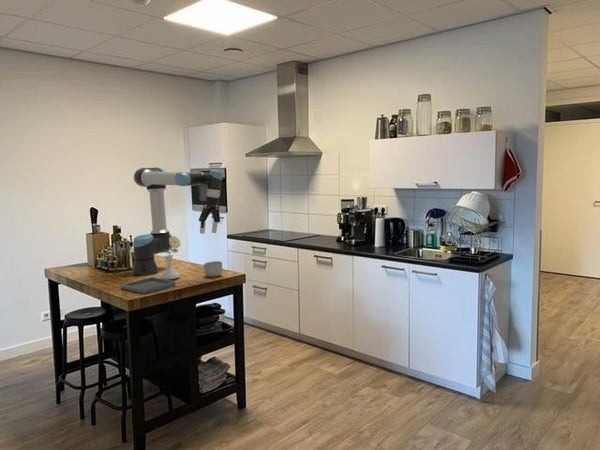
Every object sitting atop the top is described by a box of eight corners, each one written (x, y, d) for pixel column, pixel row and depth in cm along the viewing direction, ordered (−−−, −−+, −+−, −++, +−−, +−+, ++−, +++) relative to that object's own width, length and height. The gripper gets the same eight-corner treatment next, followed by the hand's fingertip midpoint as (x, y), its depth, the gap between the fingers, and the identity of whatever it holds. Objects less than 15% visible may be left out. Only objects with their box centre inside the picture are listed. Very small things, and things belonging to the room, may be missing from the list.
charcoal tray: (121, 289, 247) (120, 284, 247) (152, 281, 263) (152, 277, 263) (144, 294, 235) (143, 289, 235) (175, 285, 251) (175, 281, 251)
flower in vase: (163, 282, 260) (161, 238, 257) (156, 278, 269) (154, 236, 266) (185, 278, 268) (183, 236, 265) (178, 275, 277) (176, 234, 274)
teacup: (218, 278, 267) (218, 264, 266) (201, 277, 269) (200, 264, 268) (227, 272, 280) (226, 260, 279) (210, 272, 282) (209, 259, 281)
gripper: (207, 196, 253) (202, 234, 254) (228, 198, 276) (223, 233, 278) (195, 194, 255) (190, 232, 256) (217, 197, 279) (213, 231, 280)
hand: (208, 233), depth 267 cm, fingers open, 13 cm apart
